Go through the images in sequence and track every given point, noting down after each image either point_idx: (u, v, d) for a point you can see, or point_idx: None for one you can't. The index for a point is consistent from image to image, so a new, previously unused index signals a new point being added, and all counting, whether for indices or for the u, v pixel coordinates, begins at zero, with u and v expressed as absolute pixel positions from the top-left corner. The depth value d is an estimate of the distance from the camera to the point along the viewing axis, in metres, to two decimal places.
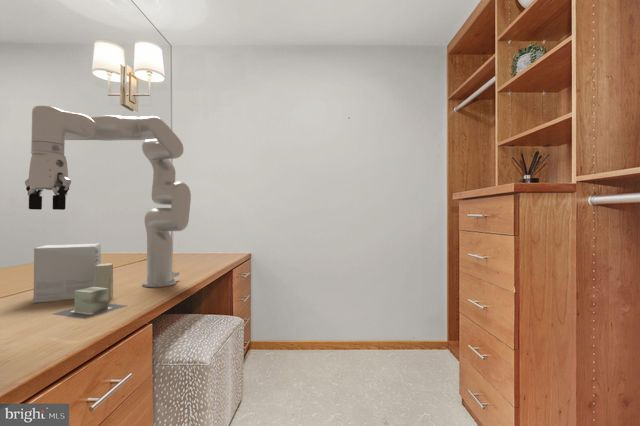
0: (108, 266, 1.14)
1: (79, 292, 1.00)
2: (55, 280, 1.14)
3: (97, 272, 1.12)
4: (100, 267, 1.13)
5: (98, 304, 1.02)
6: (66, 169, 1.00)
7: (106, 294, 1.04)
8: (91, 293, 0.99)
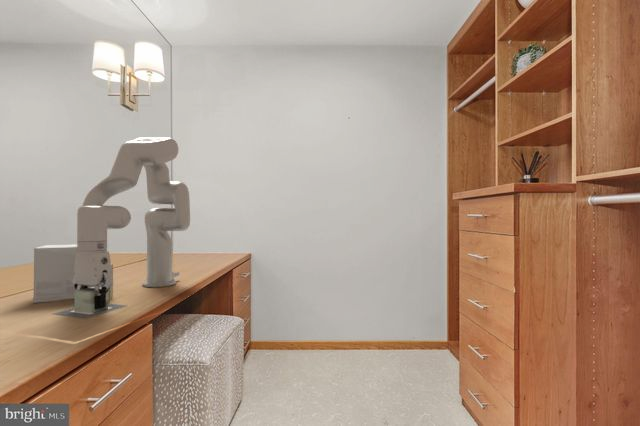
0: None
1: (79, 292, 1.00)
2: (55, 280, 1.14)
3: None
4: None
5: None
6: (110, 265, 1.03)
7: (106, 294, 1.04)
8: (91, 293, 0.99)
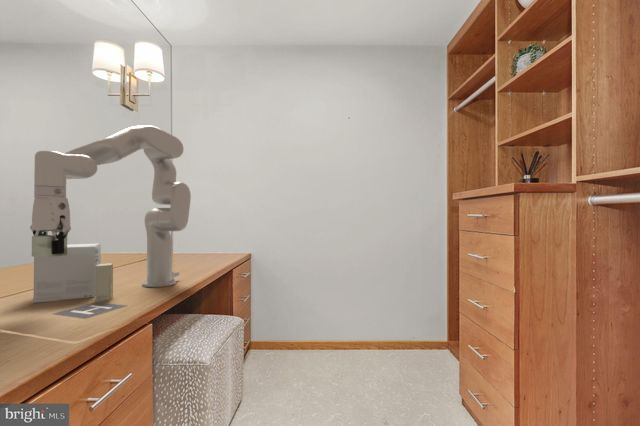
0: (108, 266, 1.14)
1: (36, 237, 1.00)
2: (55, 280, 1.14)
3: (97, 272, 1.12)
4: (100, 267, 1.13)
5: None
6: (68, 211, 1.03)
7: (65, 241, 1.04)
8: (48, 237, 0.99)
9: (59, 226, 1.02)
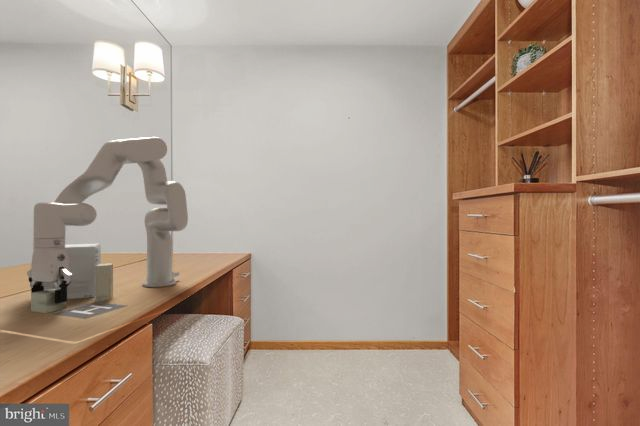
0: (108, 266, 1.14)
1: (35, 294, 1.00)
2: None
3: (97, 272, 1.12)
4: (100, 267, 1.13)
5: (55, 306, 1.02)
6: (67, 261, 1.03)
7: None
8: (47, 295, 0.99)
9: (58, 277, 1.02)
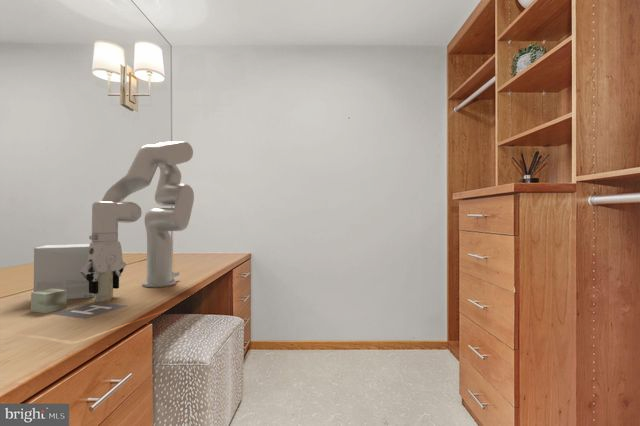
0: (108, 266, 1.14)
1: (35, 294, 1.00)
2: (55, 280, 1.14)
3: None
4: None
5: (55, 306, 1.02)
6: (95, 256, 1.10)
7: (64, 296, 1.04)
8: (47, 295, 0.99)
9: None
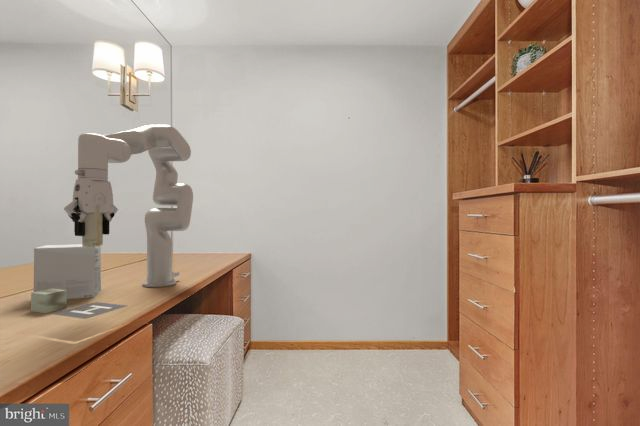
0: (96, 206, 1.01)
1: (35, 294, 1.00)
2: (55, 280, 1.14)
3: None
4: None
5: (55, 306, 1.02)
6: (82, 193, 0.98)
7: (64, 296, 1.04)
8: (47, 295, 0.99)
9: None
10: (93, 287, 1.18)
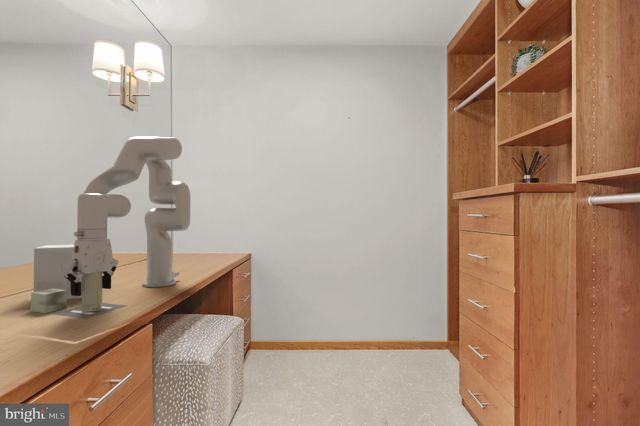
0: (96, 271, 1.01)
1: (35, 294, 1.00)
2: (55, 280, 1.14)
3: (83, 278, 1.00)
4: None
5: (55, 306, 1.01)
6: (81, 255, 0.98)
7: (64, 296, 1.04)
8: (47, 295, 0.99)
9: None
10: None
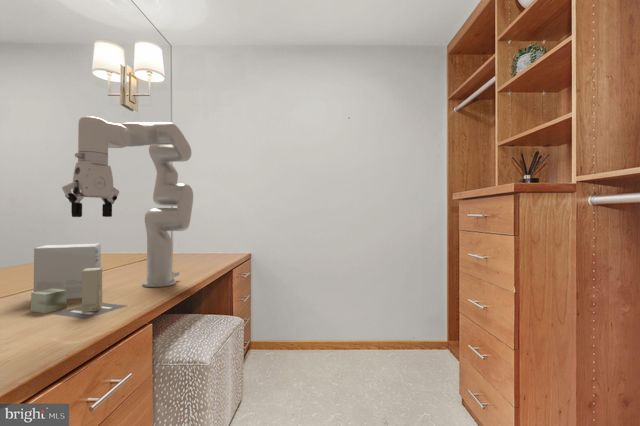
0: (96, 271, 1.01)
1: (35, 294, 1.00)
2: (55, 280, 1.14)
3: (83, 278, 1.00)
4: (87, 272, 1.00)
5: (55, 306, 1.01)
6: (82, 175, 0.98)
7: (64, 296, 1.04)
8: (47, 295, 0.99)
9: None
10: None
